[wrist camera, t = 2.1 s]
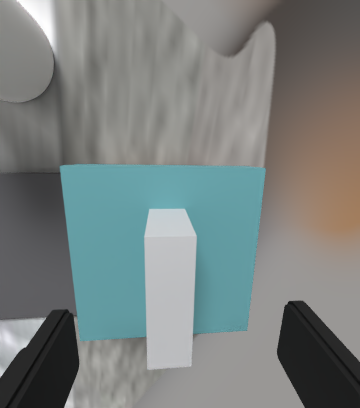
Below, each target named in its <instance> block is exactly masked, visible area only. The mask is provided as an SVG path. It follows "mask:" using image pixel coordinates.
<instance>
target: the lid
mask: <svg viewBox="0 0 360 408" xmlns="http://www.w3.org/2000/svg"><path fill="white" fill-rule="evenodd" d="M265 170H266V168H260V167H250V166H196V165H117V164H75V165H63V166H60V173H61V182H62V190H63V199H64V207H65V216H66V224H67V233H68V241H69V250H70V258H71V267H72V275H73V284H74V292H75V301H76V310H77V318H78V327H79V335H80V341H90V340H106V339H122V338H137V337H147V370H152V369H165V368H177V367H190V366H192V342H193V334H201V333H216V332H232V331H247V327H248V318H249V309H250V300H251V292H252V283H253V275H254V266H255V257H256V248H257V240H258V231H259V222H260V214H261V205H262V196H263V188H264V179H265Z"/></svg>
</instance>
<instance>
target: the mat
mask: <svg viewBox="0 0 360 408" xmlns="http://www.w3.org/2000/svg"><path fill="white" fill-rule="evenodd" d="M58 309H68V310H69V313H73V315H77V310H76V301H75V292H74V284H73V275H72V267H71V258H70V250H69V241H68V233H67V224H66V216H65V207H64V199H63V190H62V182H61V173H0V319H13V318H32V317H47V316H48V315H49V314H50V312H51V311H52V310H58Z"/></svg>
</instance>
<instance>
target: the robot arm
mask: <svg viewBox="0 0 360 408" xmlns="http://www.w3.org/2000/svg"><path fill="white" fill-rule="evenodd" d="M277 355H278V359H279V361H280V363H281V364H282V366H283V368H284V370H285V372H286V374H287V376H288V377H289V379H290V381H291V383H292V385H293V387H294V389H295V390H296V392H297V394H298V396H299V398H300V400H301V401H302V403H303V405H304V407H305V408H360V362H359V361H358V359H357V358H356V357H355V356H354V355H353V354H352V353H351V352H350V351H349V350H348V349H347V348H346V346H344V344H343V343H342V342H341V341H340V340H339V339H338V338H337V337H336V336H335V334H334V333H333V332H332V331H331V330H330V329H329V328H328V327H327V326H326V325H325V324H324V323H323V322H322V320H321V319H320V318H319V317H318V316H317V315H316V314H315V313H314V312H313V311H312V309H311V308H310V307H309V306H308V305H307V304H306V303H305V302H303V301H289V302H288V304H287V305H285V307H284V313H283V319H282V325H281V331H280V336H279V343H278V348H277ZM78 369H79V356H78V348H77V340H76V332H75V325H74V317H73V313H69V310H68V309H58V310H52V311H51V312H50V314H49V315H48V316H47V318H46V319H45V321H44V322H43V324H42V325H41V327H40V328H39V329H38V331H37V332H36V334H35V335H34V337H33V338H32V340H31V341H30V342H29V344H28V345H27V347H26V348H23V349H22V350H21V351H20V352H19V353H18V354H17V355H16V357H15V358H14V360H13V361H12V362H11V364H10V365H9V367H8V368H7V369H6V371H5V372H4V374H3V375H2V376H1V378H0V408H64V406H65V404H66V401H67V398H68V396H69V393H70V391H71V388H72V385H73V383H74V380H75V378H76V375H77V372H78Z"/></svg>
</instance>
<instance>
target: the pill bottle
mask: <svg viewBox="0 0 360 408" xmlns="http://www.w3.org/2000/svg"><path fill="white" fill-rule="evenodd" d="M53 70H54V58H53V52H52V49H51V46H50V43H49V41H48V38H47V37H46V35H45V33H44V31H43V30H42V28H41V27H40V26H39V24H38V23H37V22H36V20H35V19H34V18H33V17H32V16H31V15H30V14H29V13H28V12H27V11H26V10H25V8H24V7H23V6H22V5H21V4H20V3H19V2H18V1H17V0H0V100H2V101H8V102H25V101H29V100H32V99H34V98H36V97H38V96H39V95H40V94H42V93H43V92H44V91H45V90H46V88H47V87H48V85H49V83H50V81H51V79H52V76H53Z"/></svg>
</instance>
